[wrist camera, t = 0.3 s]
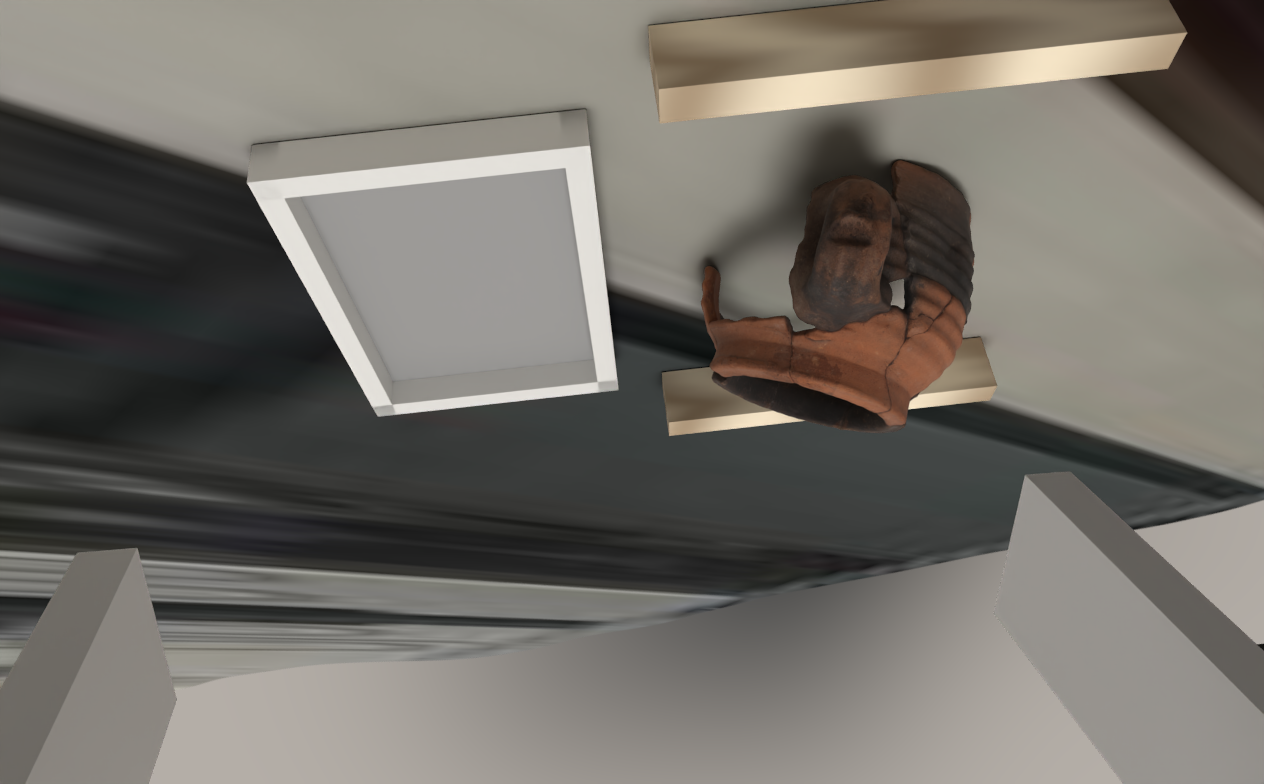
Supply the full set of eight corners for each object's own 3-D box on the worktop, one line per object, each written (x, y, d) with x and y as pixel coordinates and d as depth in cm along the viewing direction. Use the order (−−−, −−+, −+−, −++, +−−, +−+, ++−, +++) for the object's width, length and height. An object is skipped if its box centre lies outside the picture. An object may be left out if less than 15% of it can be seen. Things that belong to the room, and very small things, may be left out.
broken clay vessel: (982, 261, 39) (933, 459, 38) (753, 218, 42) (700, 401, 40) (1020, 108, 28) (951, 385, 26) (702, 64, 30) (626, 312, 29)
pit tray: (379, 385, 41) (377, 416, 40) (252, 145, 29) (246, 182, 28) (614, 359, 41) (618, 390, 41) (585, 109, 29) (590, 145, 28)
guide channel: (662, 386, 44) (669, 435, 42) (648, 25, 27) (658, 89, 26) (973, 351, 44) (989, 400, 42) (1151, -28, 27) (1186, 32, 26)
